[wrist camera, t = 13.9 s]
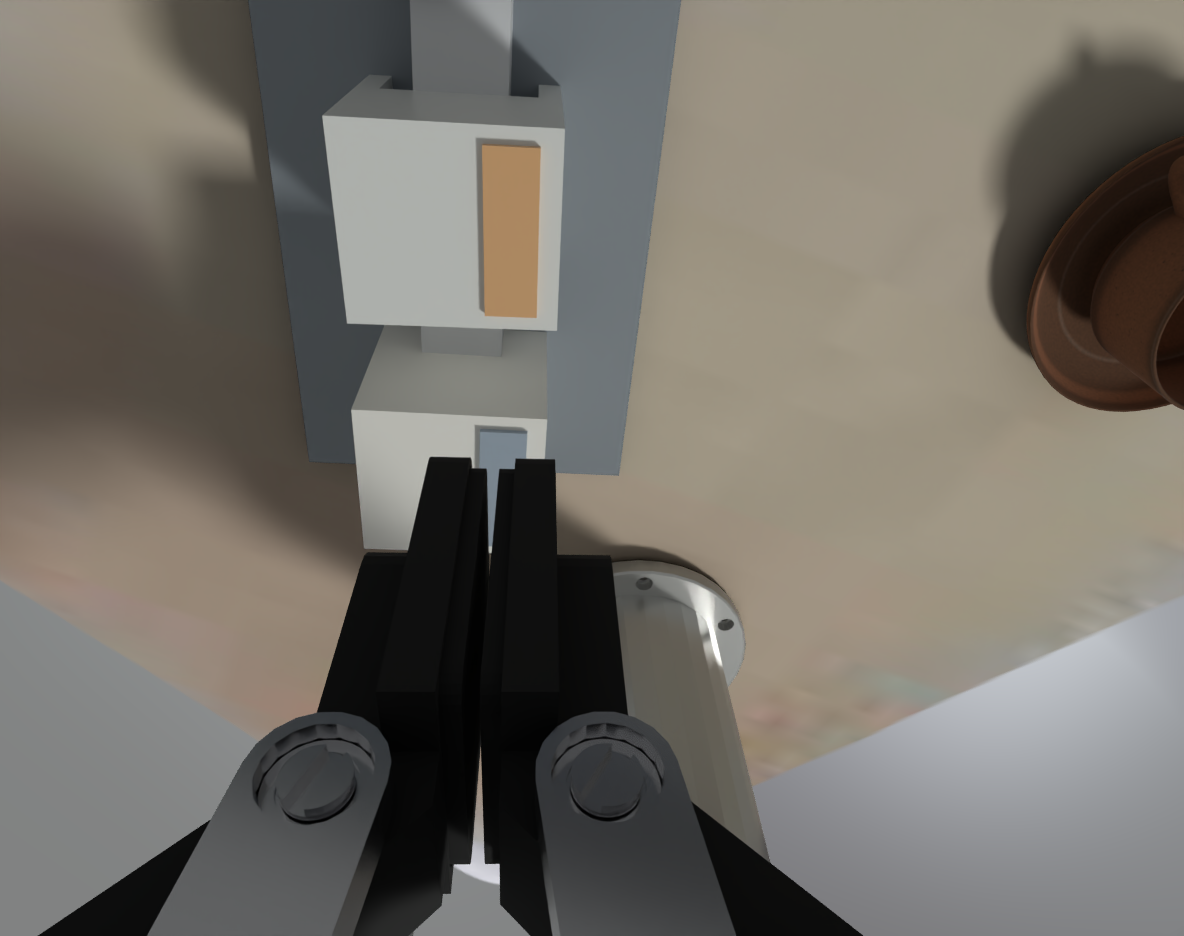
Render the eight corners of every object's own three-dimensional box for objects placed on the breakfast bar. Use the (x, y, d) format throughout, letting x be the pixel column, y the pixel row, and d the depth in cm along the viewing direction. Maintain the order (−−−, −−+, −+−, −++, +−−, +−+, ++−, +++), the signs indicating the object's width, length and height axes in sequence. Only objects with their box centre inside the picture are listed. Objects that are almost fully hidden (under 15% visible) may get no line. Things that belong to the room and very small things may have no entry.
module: (554, 254, 31) (556, 333, 25) (384, 247, 30) (345, 326, 24) (560, 85, 28) (565, 130, 22) (369, 74, 27) (320, 116, 21)
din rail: (617, 463, 38) (633, 581, 31) (314, 449, 37) (262, 569, 30) (680, -31, 27) (727, -16, 20) (248, -77, 25) (140, -77, 19)
